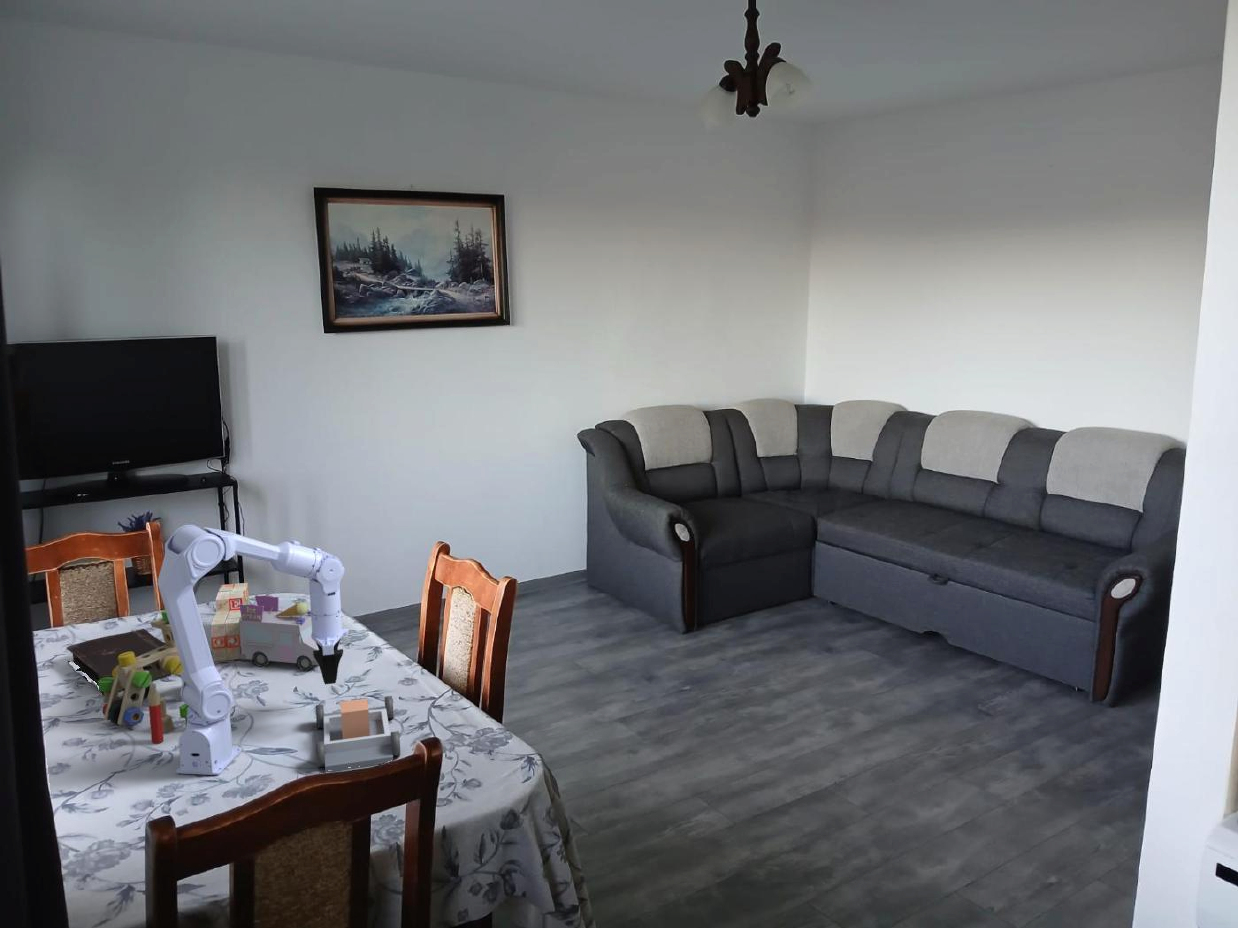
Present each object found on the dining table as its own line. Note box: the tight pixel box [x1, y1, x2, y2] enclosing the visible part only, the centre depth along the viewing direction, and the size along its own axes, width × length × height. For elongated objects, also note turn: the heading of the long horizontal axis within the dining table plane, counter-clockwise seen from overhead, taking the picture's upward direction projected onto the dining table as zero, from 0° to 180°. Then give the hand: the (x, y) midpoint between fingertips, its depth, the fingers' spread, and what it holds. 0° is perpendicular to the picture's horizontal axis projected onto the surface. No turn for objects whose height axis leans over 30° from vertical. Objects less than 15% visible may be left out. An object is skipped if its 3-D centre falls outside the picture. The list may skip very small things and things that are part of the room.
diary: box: [65, 628, 178, 697], centre depth 215 cm, size 19×25×5 cm
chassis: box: [315, 695, 401, 773], centre depth 182 cm, size 22×15×4 cm
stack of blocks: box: [210, 582, 251, 662], centre depth 229 cm, size 21×6×12 cm, turn 15°
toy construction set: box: [98, 608, 188, 745], centre depth 191 cm, size 27×22×21 cm
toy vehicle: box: [239, 594, 319, 672], centre depth 217 cm, size 9×20×15 cm, turn 78°
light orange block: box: [340, 698, 370, 739], centre depth 181 cm, size 5×5×6 cm
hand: (329, 675), depth 189 cm, fingers open, 7 cm apart
